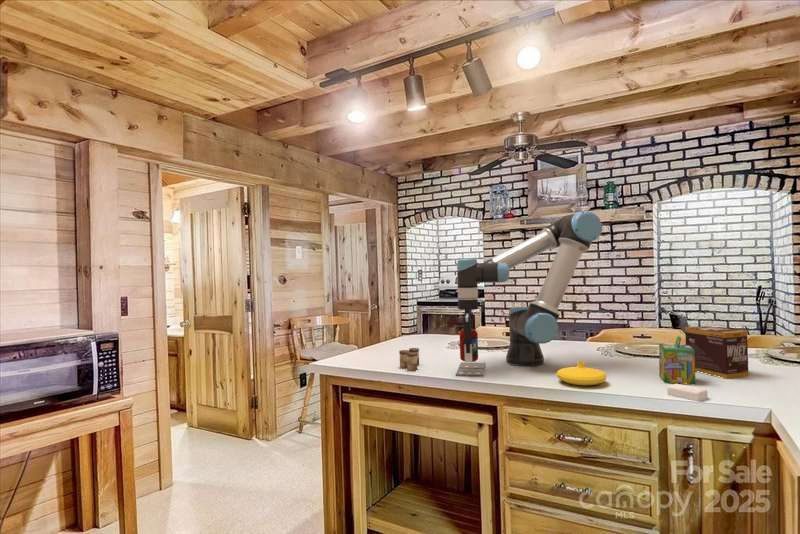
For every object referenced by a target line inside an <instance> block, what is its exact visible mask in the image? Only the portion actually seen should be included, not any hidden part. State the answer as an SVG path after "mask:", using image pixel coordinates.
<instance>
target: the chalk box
mask: <svg viewBox="0 0 800 534" xmlns="http://www.w3.org/2000/svg"><path fill="white" fill-rule="evenodd" d="M681 341H682V337H681V336H680V335H678V336H677V337H676V340H675V343H674V344H673V343H672V344H669V343H658V352H659V353H658V354H659V356H658V357H659V358H658V359H659V363H658V365H659V367H658V368H659V369H658V370H659V374H658V375H659V377H660V379H661V380H662V382H663V381H664V382H671V383H670V384H678V383H687V384H686V385H691V384H697V383H696V372H695V351H694V349H693V348H692V347H691V346H689V345H686V344H681ZM664 382H663V383H664Z"/></svg>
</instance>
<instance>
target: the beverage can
mask: <svg viewBox="0 0 800 534" xmlns="http://www.w3.org/2000/svg"><path fill="white" fill-rule="evenodd" d="M478 335H479V334H478V332H477V330H476V328H474V327H473V328H471V342H472V343H471V344H472V362H471V363H476V361H477V360H479V340H478V338H479V336H478ZM462 342H464V328H461V330H460V331H459V359H460V360H461V361H463V362H465V349H464V344H462Z"/></svg>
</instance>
